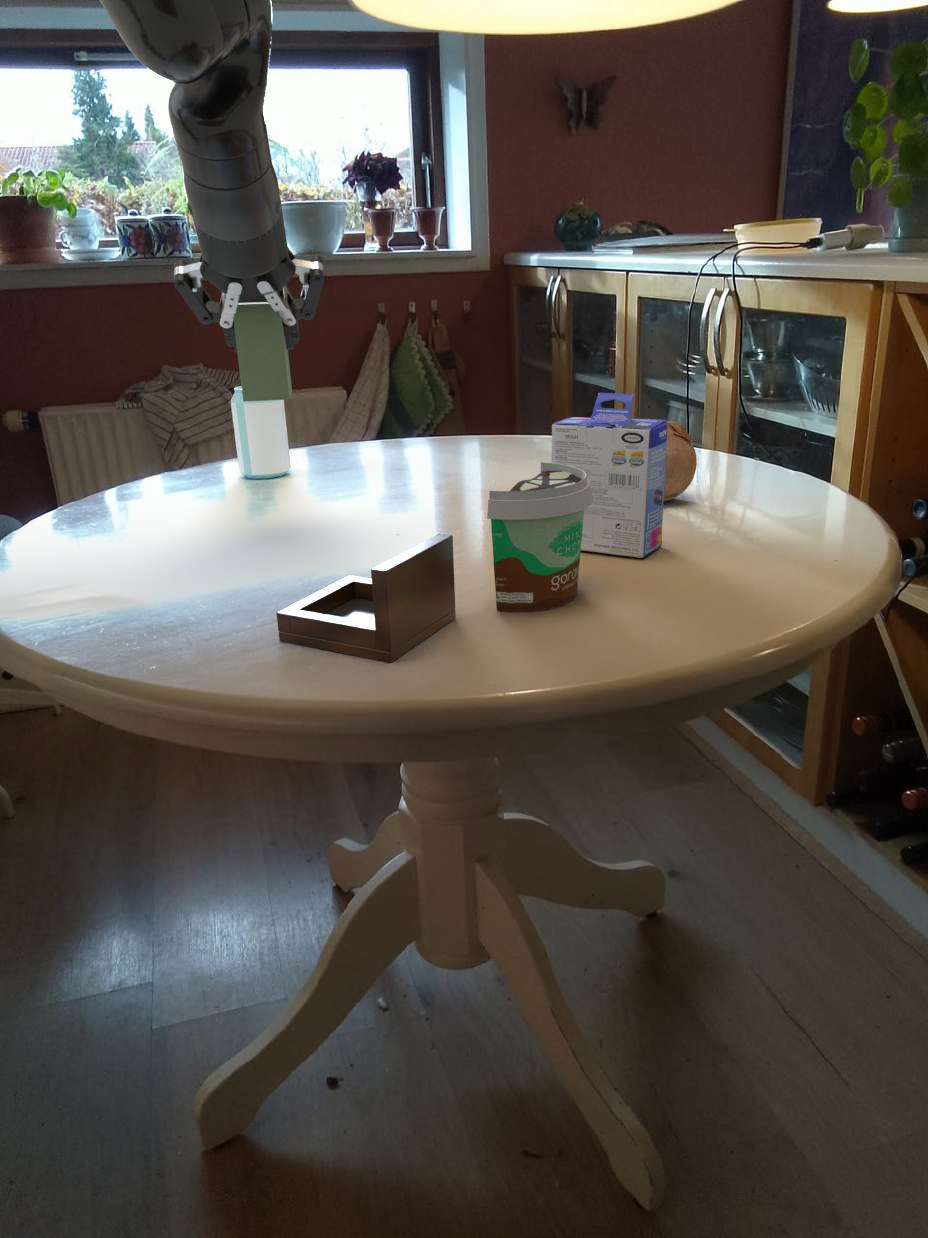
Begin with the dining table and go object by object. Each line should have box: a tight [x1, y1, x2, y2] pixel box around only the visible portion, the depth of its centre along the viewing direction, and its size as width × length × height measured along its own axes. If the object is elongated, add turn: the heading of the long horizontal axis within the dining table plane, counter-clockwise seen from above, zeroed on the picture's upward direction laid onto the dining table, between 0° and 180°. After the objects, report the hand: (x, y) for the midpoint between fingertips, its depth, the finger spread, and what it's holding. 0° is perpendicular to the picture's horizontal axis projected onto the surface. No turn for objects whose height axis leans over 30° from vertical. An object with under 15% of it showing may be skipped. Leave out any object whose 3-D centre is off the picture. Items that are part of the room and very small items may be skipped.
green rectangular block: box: [234, 301, 293, 402], centre depth 89 cm, size 4×5×9 cm
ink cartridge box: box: [551, 392, 668, 559], centre depth 84 cm, size 10×6×14 cm, turn 61°
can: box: [230, 385, 291, 480], centre depth 123 cm, size 7×7×12 cm
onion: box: [663, 420, 698, 503], centre depth 103 cm, size 10×9×10 cm
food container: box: [486, 461, 593, 613], centre depth 73 cm, size 12×6×10 cm, turn 155°
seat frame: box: [275, 533, 456, 663], centre depth 68 cm, size 10×10×7 cm
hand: (264, 343), depth 90 cm, fingers closed on green rectangular block, 4 cm apart
